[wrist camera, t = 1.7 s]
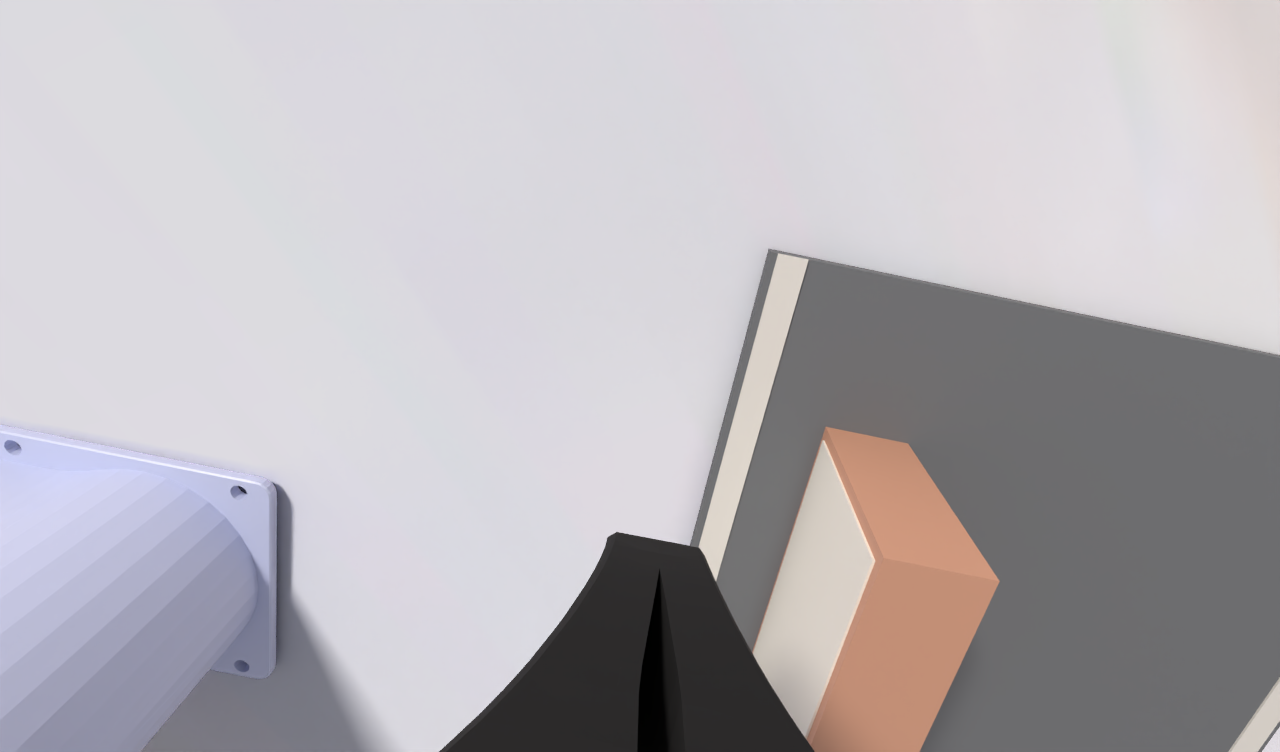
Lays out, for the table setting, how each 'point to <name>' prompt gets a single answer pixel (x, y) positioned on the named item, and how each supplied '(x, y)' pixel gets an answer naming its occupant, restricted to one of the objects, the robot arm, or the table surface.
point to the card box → (871, 600)
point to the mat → (1032, 499)
